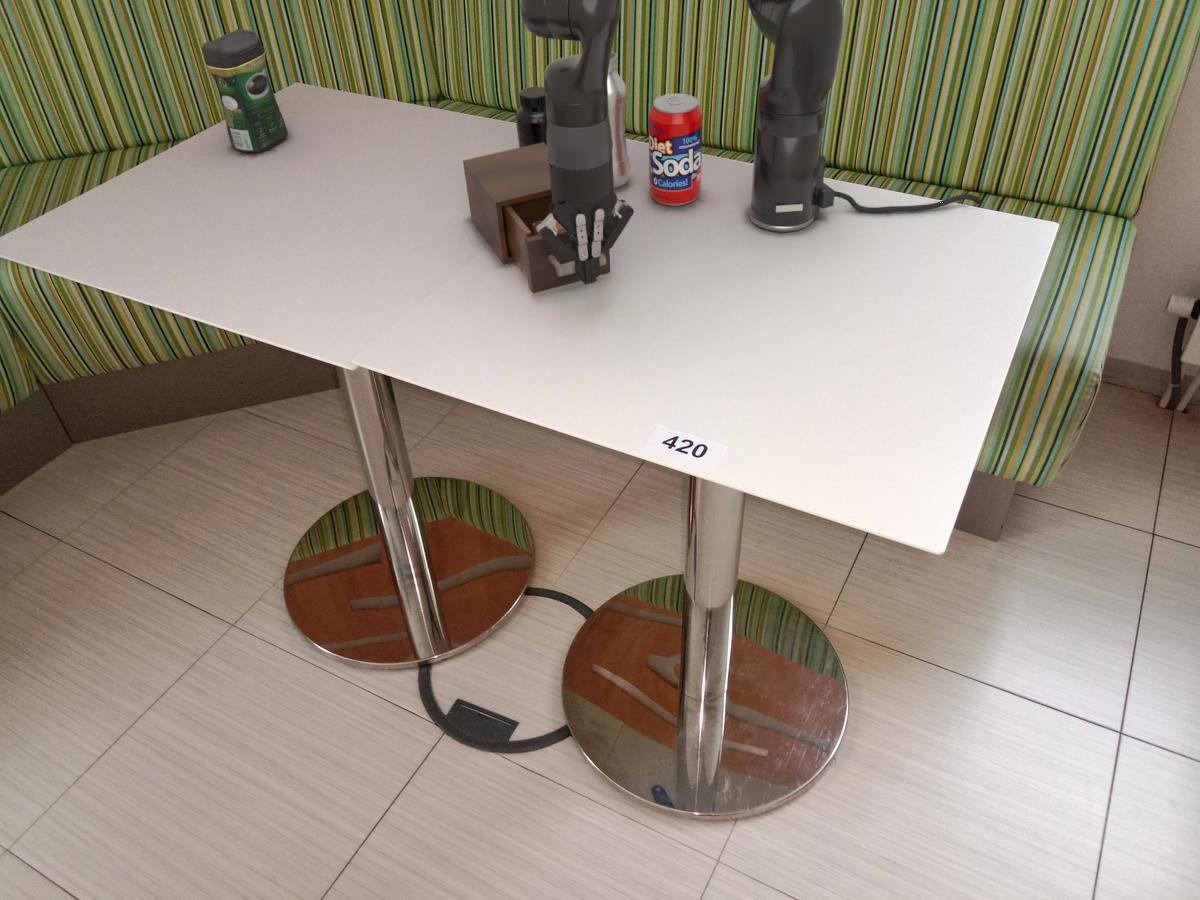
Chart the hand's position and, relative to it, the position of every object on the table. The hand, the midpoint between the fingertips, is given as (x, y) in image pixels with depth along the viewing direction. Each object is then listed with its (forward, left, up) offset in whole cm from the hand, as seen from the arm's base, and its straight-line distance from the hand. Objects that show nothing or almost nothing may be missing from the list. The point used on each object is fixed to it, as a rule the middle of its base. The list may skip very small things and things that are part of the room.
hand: (588, 280), depth 124 cm
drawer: (0, -10, -4) cm, 11 cm away
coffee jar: (+31, -75, -5) cm, 82 cm away
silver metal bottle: (-17, -31, -5) cm, 36 cm away
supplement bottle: (-10, -43, -5) cm, 45 cm away
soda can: (-24, -22, -5) cm, 33 cm away
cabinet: (0, -23, -4) cm, 24 cm away
